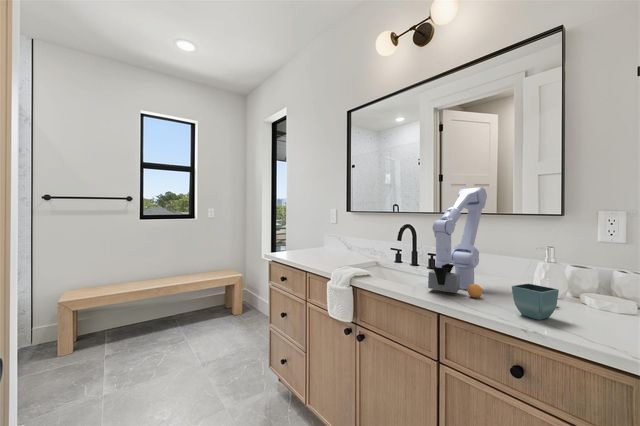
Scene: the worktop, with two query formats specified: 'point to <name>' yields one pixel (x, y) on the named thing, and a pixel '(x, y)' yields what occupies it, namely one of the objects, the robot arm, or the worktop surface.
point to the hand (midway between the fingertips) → (443, 283)
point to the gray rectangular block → (450, 282)
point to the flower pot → (535, 300)
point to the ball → (475, 290)
